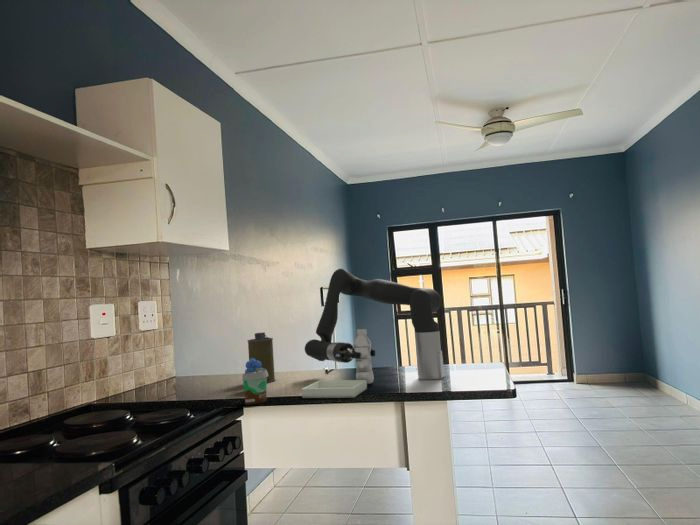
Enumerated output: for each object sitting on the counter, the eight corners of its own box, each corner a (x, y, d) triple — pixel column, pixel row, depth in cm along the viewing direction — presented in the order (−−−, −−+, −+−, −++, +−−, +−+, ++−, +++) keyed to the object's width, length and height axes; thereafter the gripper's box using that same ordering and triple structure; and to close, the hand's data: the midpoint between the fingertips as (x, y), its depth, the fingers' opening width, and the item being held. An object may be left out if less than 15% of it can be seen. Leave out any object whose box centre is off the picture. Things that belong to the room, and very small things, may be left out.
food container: (261, 405, 163) (260, 373, 164) (243, 405, 164) (241, 374, 165) (275, 397, 175) (273, 367, 176) (258, 397, 176) (256, 368, 177)
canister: (267, 383, 205) (265, 333, 206) (244, 384, 208) (242, 334, 209) (280, 379, 215) (277, 331, 216) (258, 379, 218) (255, 332, 220)
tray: (367, 388, 179) (366, 379, 179) (353, 397, 165) (353, 388, 165) (319, 389, 185) (318, 380, 185) (302, 397, 170) (301, 388, 171)
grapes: (237, 391, 192) (235, 359, 193) (252, 388, 197) (250, 356, 198) (256, 393, 184) (254, 360, 185) (271, 390, 189) (269, 357, 190)
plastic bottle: (377, 383, 189) (373, 328, 190) (368, 386, 183) (364, 330, 184) (362, 382, 192) (358, 328, 193) (352, 385, 186) (349, 330, 188)
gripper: (324, 344, 196) (350, 346, 182) (354, 340, 204) (381, 341, 191) (325, 364, 195) (352, 367, 182) (355, 359, 204) (383, 362, 190)
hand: (367, 354), depth 186 cm, fingers closed on plastic bottle, 6 cm apart
